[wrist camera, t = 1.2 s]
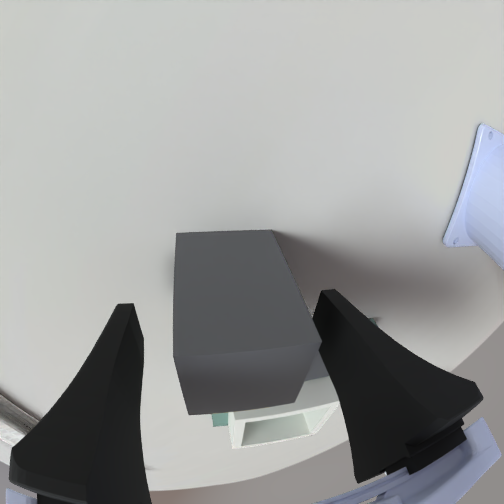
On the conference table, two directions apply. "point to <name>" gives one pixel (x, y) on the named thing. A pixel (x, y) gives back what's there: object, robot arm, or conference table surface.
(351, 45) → the conference table surface
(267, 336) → the plug
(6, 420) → the white keyboard
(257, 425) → the board
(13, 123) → the conference table surface
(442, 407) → the robot arm
